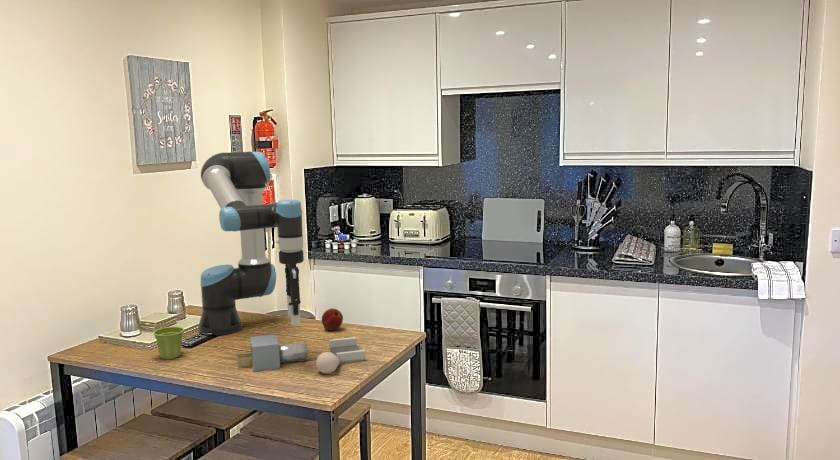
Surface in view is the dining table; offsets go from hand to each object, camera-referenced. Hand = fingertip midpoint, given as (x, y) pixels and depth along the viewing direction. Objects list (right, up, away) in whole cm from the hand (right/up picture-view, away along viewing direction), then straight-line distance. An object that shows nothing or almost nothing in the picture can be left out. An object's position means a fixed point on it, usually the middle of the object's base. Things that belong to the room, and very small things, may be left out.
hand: (294, 320), depth 205 cm
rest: (+16, -12, +7) cm, 21 cm away
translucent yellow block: (-13, -14, -1) cm, 19 cm away
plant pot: (-42, -13, +8) cm, 45 cm away
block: (-9, -14, -1) cm, 16 cm away
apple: (+7, -8, +33) cm, 35 cm away
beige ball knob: (+12, -15, -6) cm, 20 cm away
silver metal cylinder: (-3, -13, +2) cm, 14 cm away
